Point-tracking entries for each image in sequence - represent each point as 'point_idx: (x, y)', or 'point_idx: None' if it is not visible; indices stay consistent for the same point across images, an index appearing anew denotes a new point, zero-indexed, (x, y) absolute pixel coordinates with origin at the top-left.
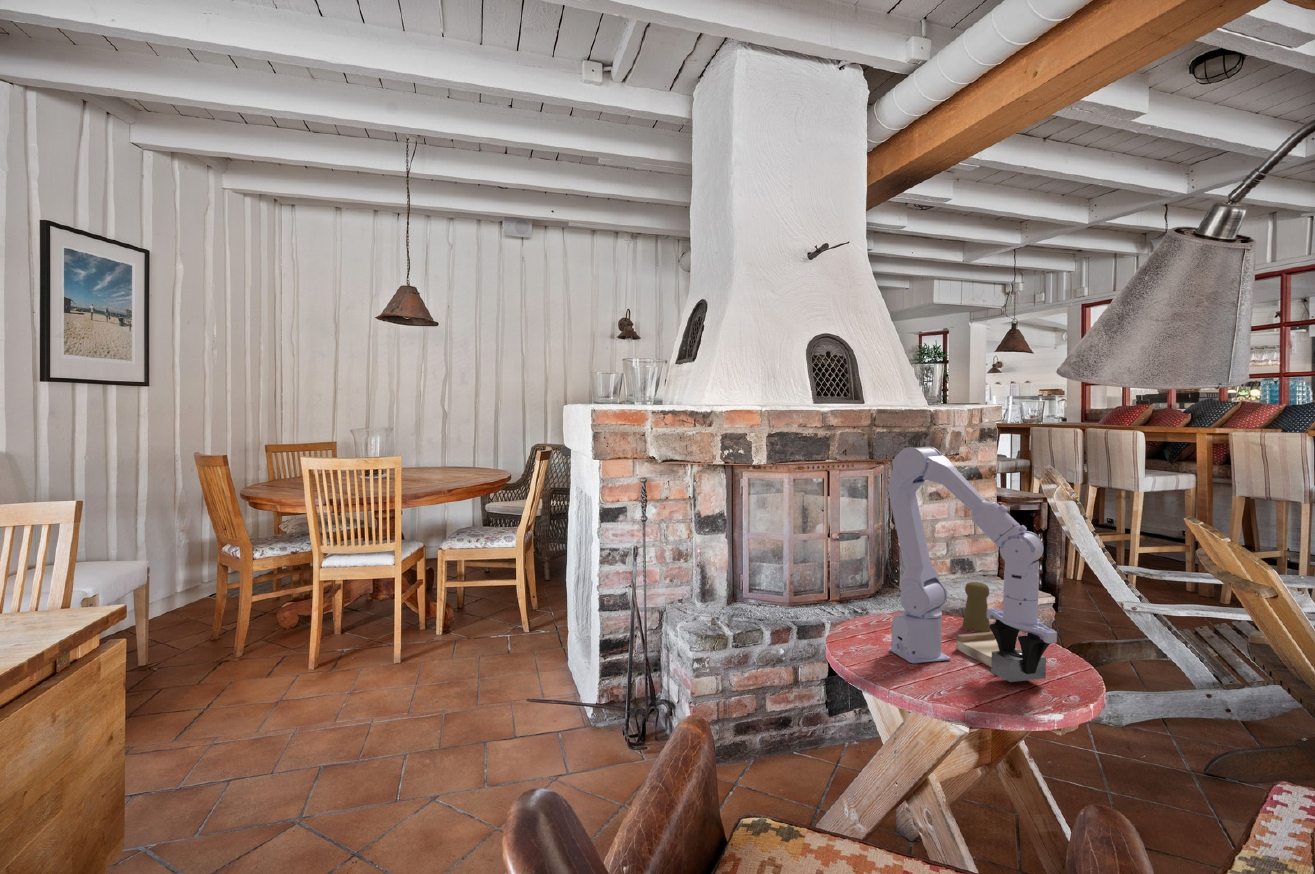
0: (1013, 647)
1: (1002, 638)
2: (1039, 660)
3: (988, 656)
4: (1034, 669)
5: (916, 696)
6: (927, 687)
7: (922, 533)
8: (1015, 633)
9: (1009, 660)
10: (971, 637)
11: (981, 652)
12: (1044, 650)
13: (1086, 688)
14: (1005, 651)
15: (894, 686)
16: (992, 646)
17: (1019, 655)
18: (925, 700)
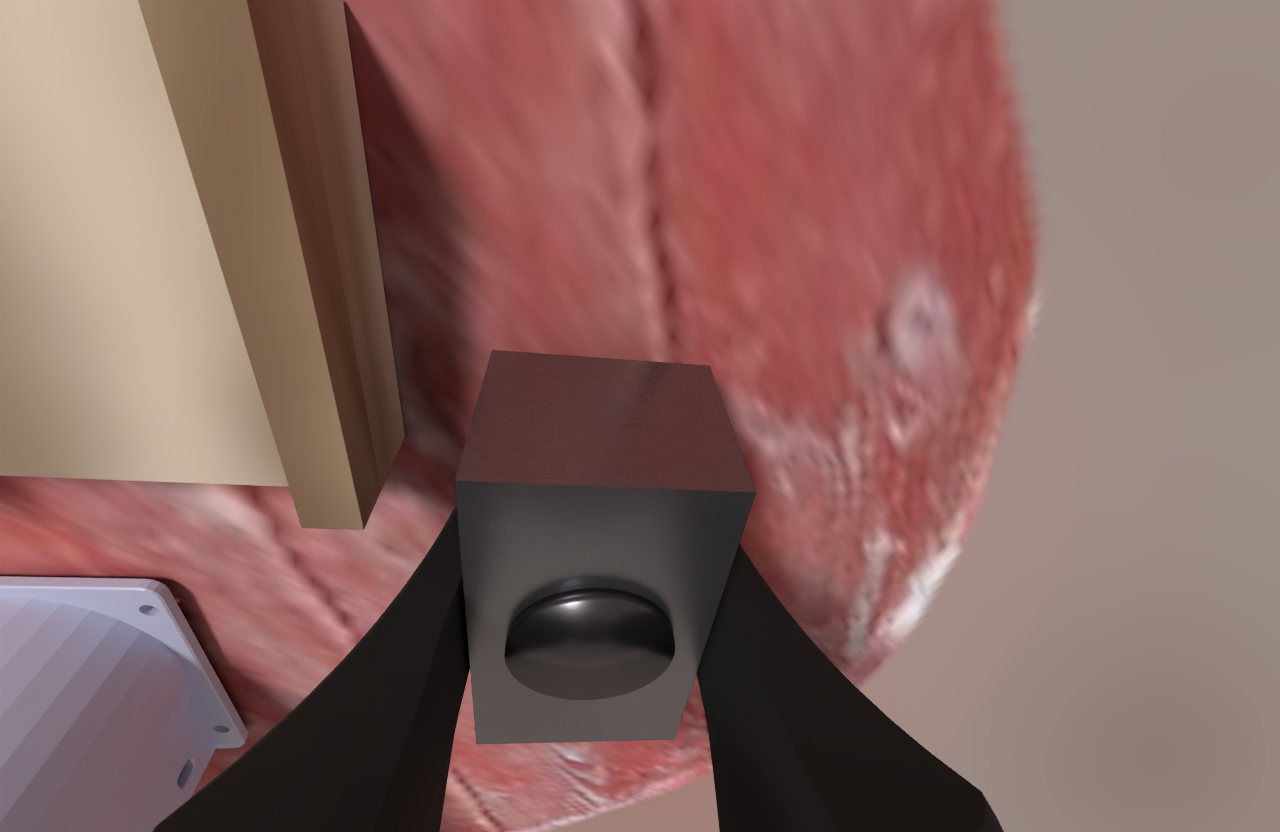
0: (450, 616)
1: (438, 813)
2: (775, 597)
3: (226, 481)
4: None
5: (574, 808)
6: (518, 770)
7: None
8: (406, 785)
9: (662, 736)
10: None
11: (124, 479)
12: (864, 700)
13: (918, 19)
14: (498, 679)
15: (483, 822)
16: None
17: (643, 679)
18: (610, 802)
